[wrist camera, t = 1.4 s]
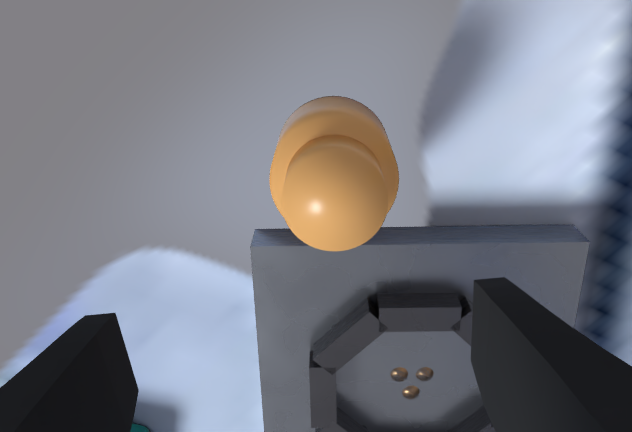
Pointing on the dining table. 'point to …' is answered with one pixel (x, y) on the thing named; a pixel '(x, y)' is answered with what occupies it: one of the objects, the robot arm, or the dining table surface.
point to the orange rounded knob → (334, 173)
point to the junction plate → (393, 322)
